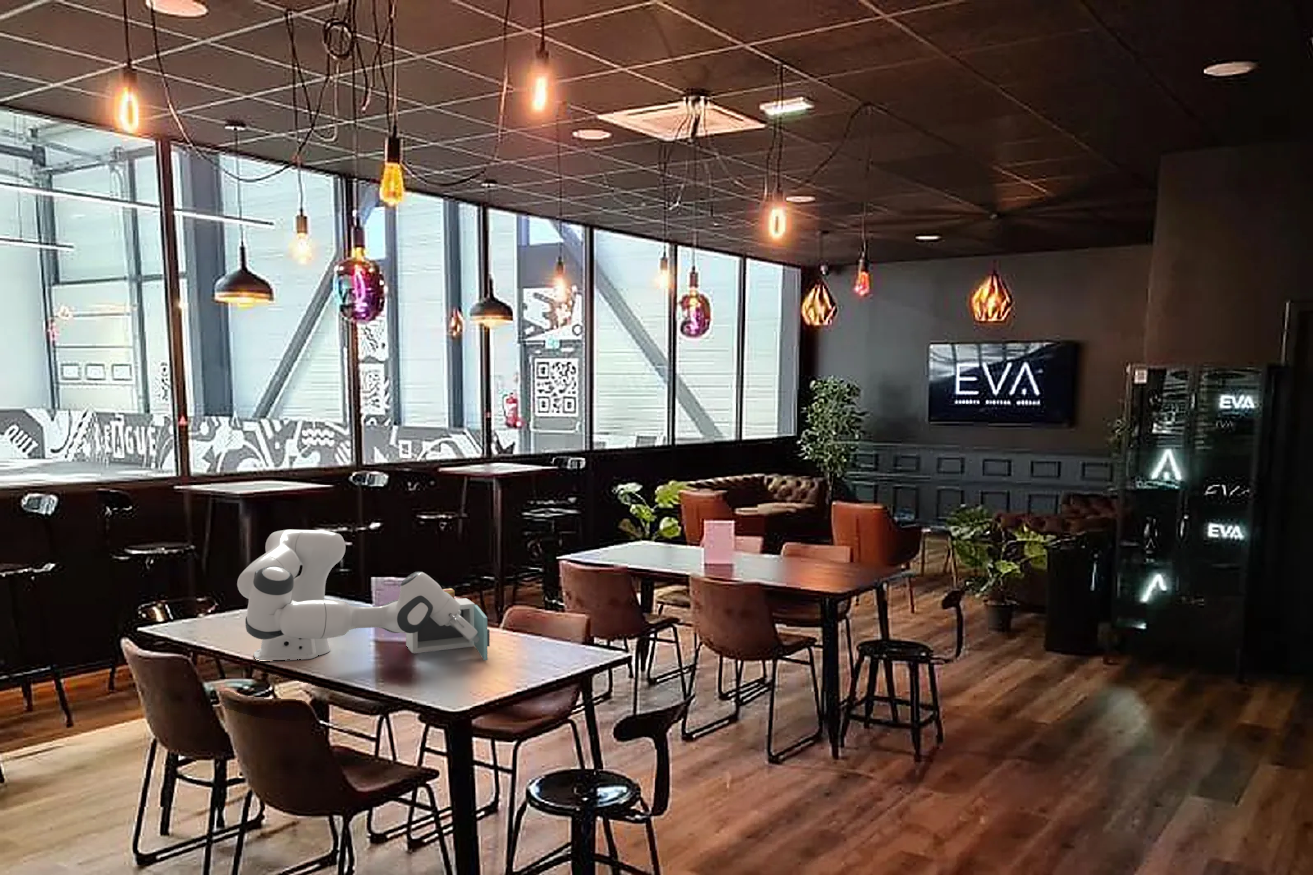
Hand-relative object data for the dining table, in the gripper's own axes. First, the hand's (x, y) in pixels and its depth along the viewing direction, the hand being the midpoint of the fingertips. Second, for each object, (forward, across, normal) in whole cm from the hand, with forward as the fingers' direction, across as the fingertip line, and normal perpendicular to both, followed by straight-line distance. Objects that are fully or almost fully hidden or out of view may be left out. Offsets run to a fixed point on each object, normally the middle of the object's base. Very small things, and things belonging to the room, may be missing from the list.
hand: (476, 639), depth 292 cm
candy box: (+1, +33, +6) cm, 34 cm away
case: (-2, +17, +9) cm, 19 cm away
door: (+4, +1, +2) cm, 5 cm away
